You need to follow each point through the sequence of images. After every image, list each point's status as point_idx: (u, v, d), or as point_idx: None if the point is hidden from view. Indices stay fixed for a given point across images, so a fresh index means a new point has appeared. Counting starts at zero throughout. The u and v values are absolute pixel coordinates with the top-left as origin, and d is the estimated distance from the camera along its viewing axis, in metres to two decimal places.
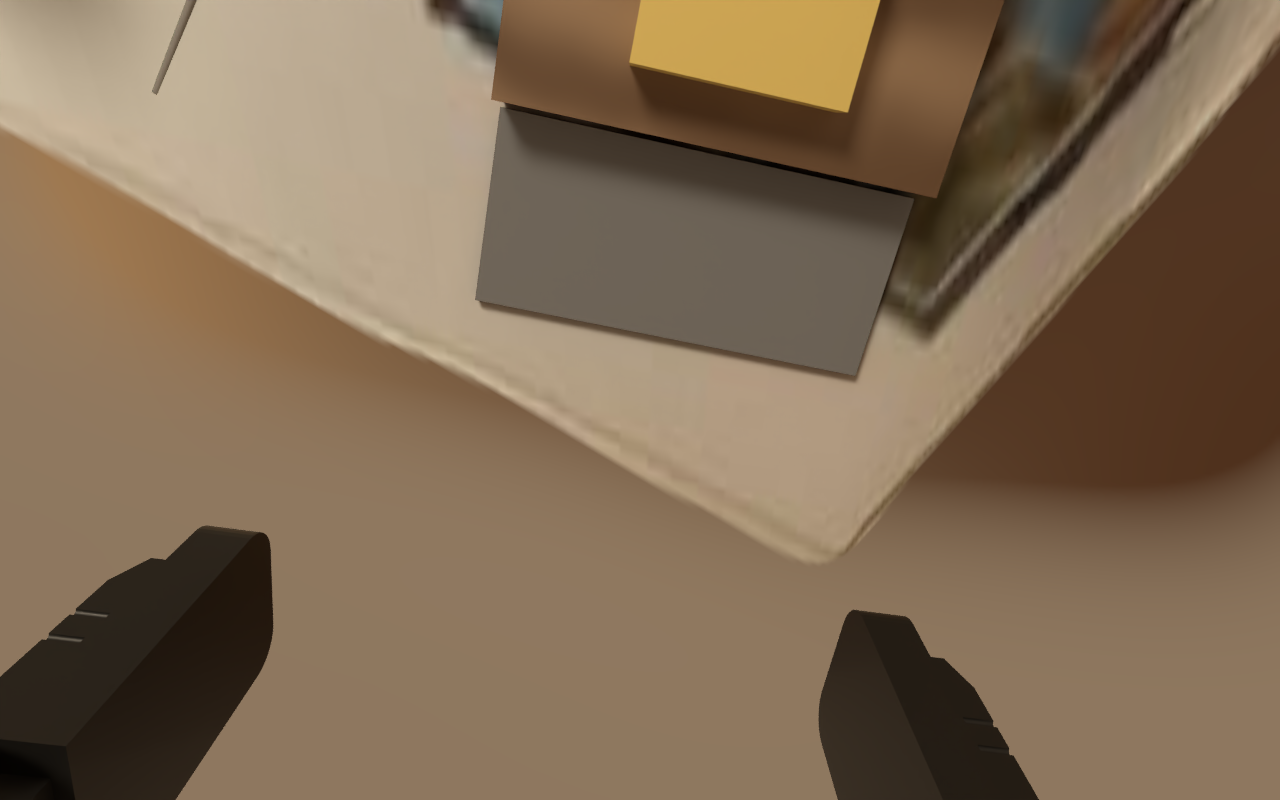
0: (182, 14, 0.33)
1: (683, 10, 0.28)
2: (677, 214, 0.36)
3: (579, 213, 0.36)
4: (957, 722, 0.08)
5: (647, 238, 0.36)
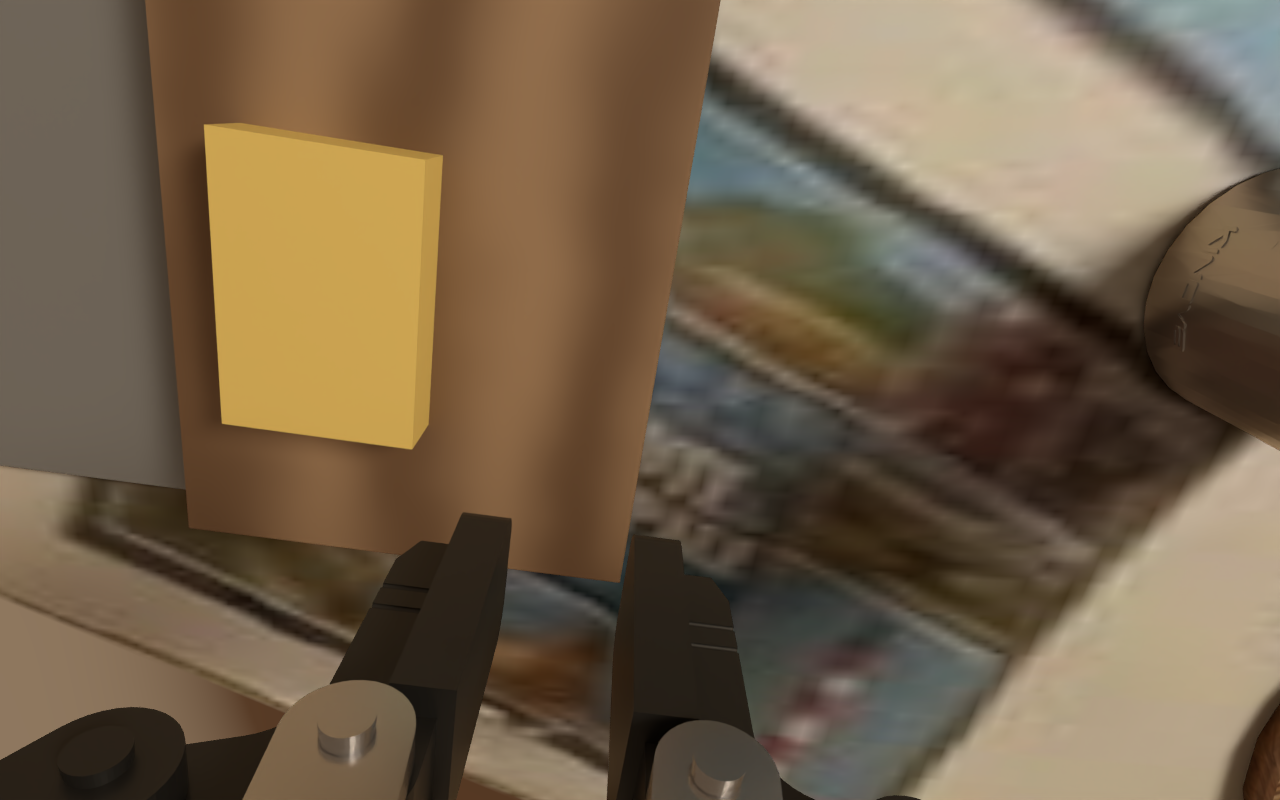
0: None
1: (287, 200, 0.21)
2: (107, 201, 0.25)
3: (61, 49, 0.23)
4: (681, 621, 0.09)
5: (59, 159, 0.25)
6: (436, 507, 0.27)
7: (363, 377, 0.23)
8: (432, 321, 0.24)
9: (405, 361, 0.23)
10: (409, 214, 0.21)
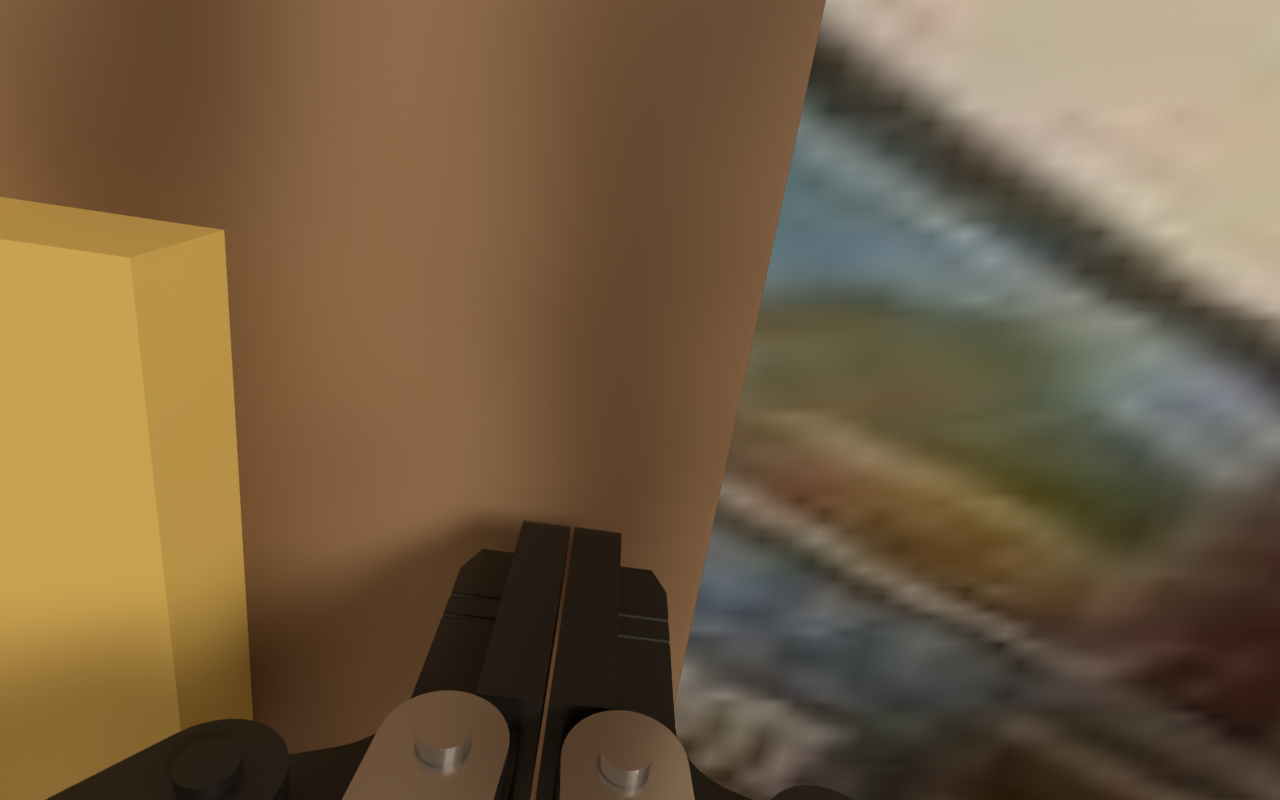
0: None
1: None
2: None
3: None
4: (610, 612, 0.09)
5: None
6: None
7: (66, 702, 0.11)
8: (236, 556, 0.12)
9: (151, 673, 0.10)
10: (111, 381, 0.09)
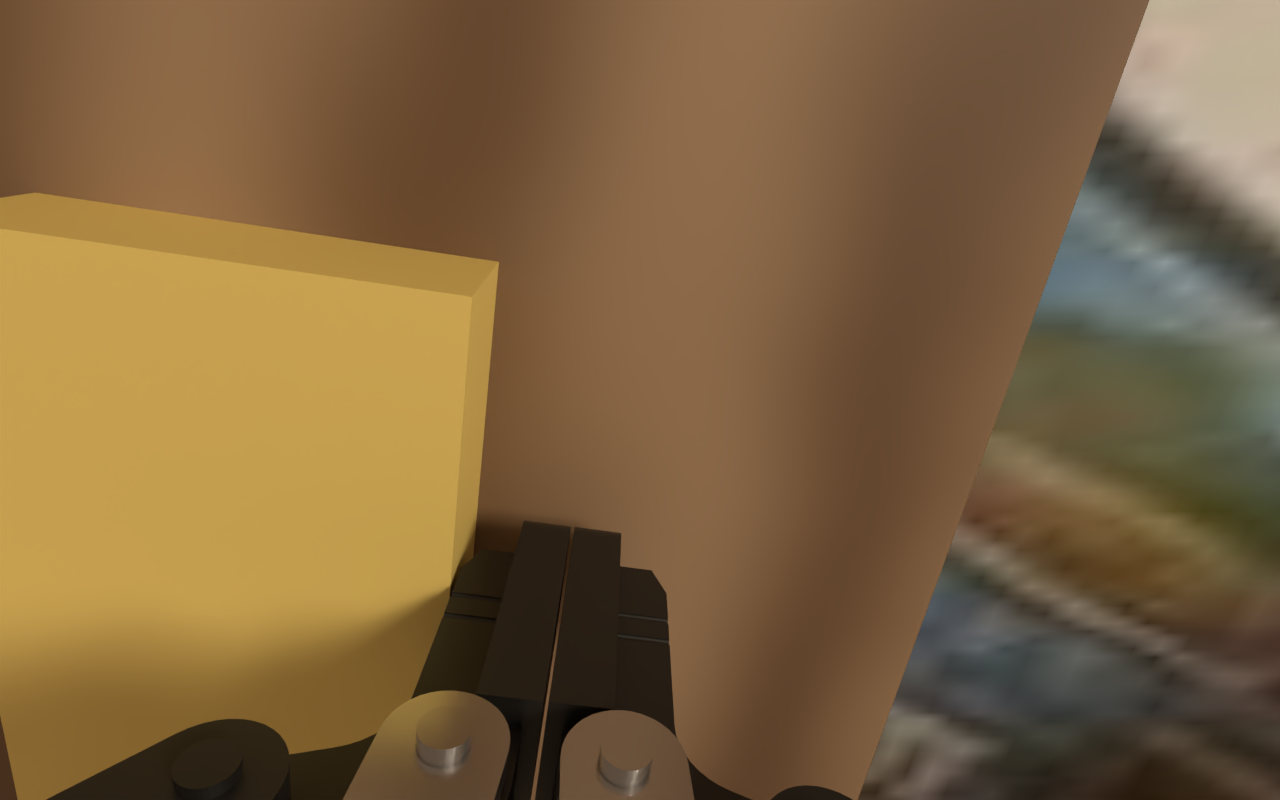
0: None
1: (132, 391, 0.09)
2: None
3: None
4: (610, 612, 0.09)
5: None
6: None
7: (325, 739, 0.11)
8: None
9: None
10: (430, 419, 0.09)
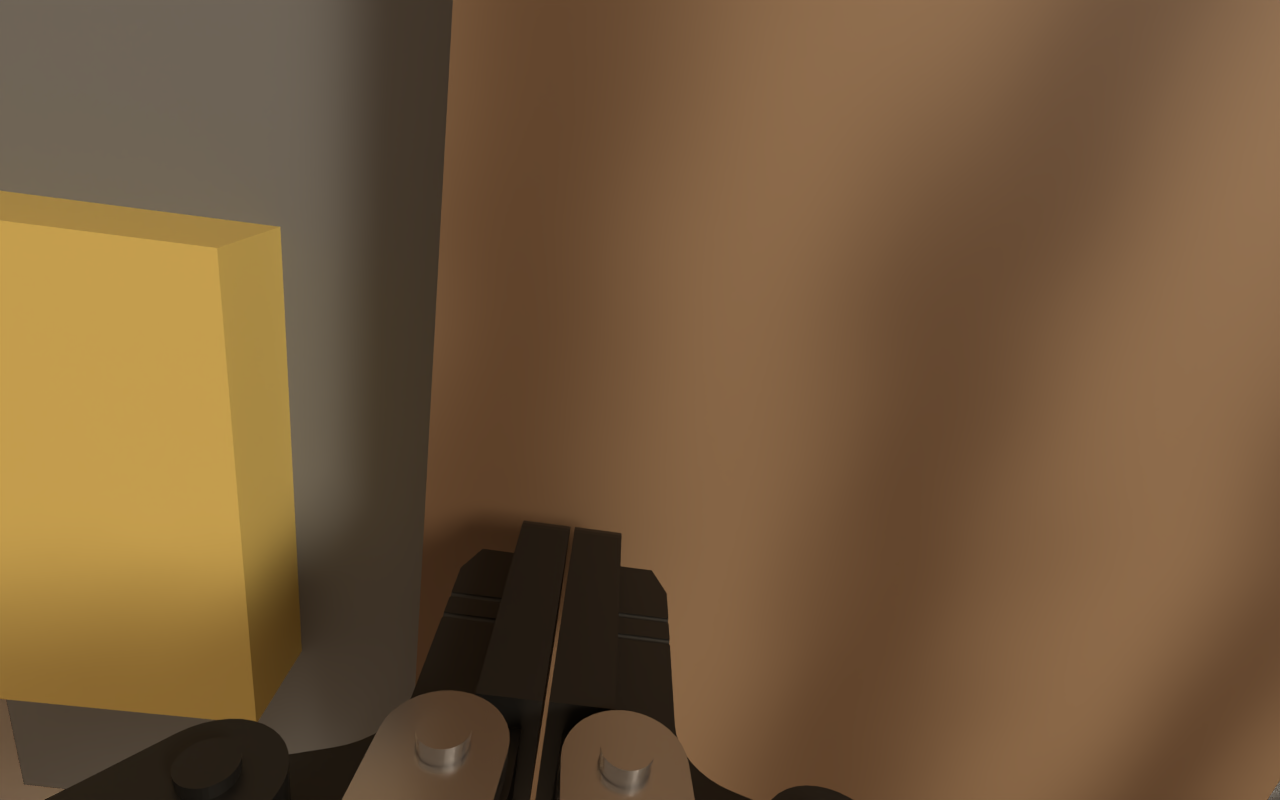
0: None
1: None
2: None
3: (215, 111, 0.12)
4: (610, 611, 0.09)
5: None
6: None
7: None
8: None
9: None
10: None
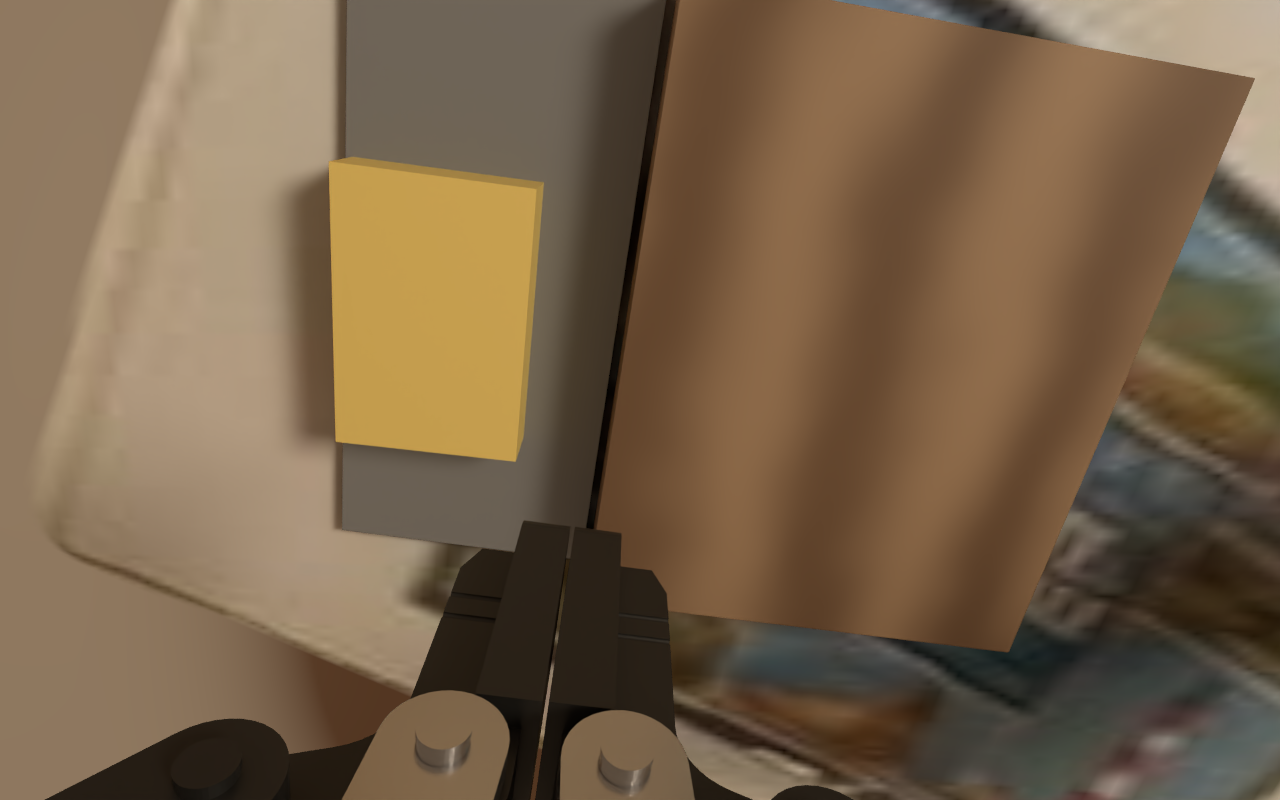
0: None
1: None
2: None
3: (518, 121, 0.23)
4: (611, 612, 0.09)
5: None
6: (841, 579, 0.26)
7: None
8: None
9: None
10: None
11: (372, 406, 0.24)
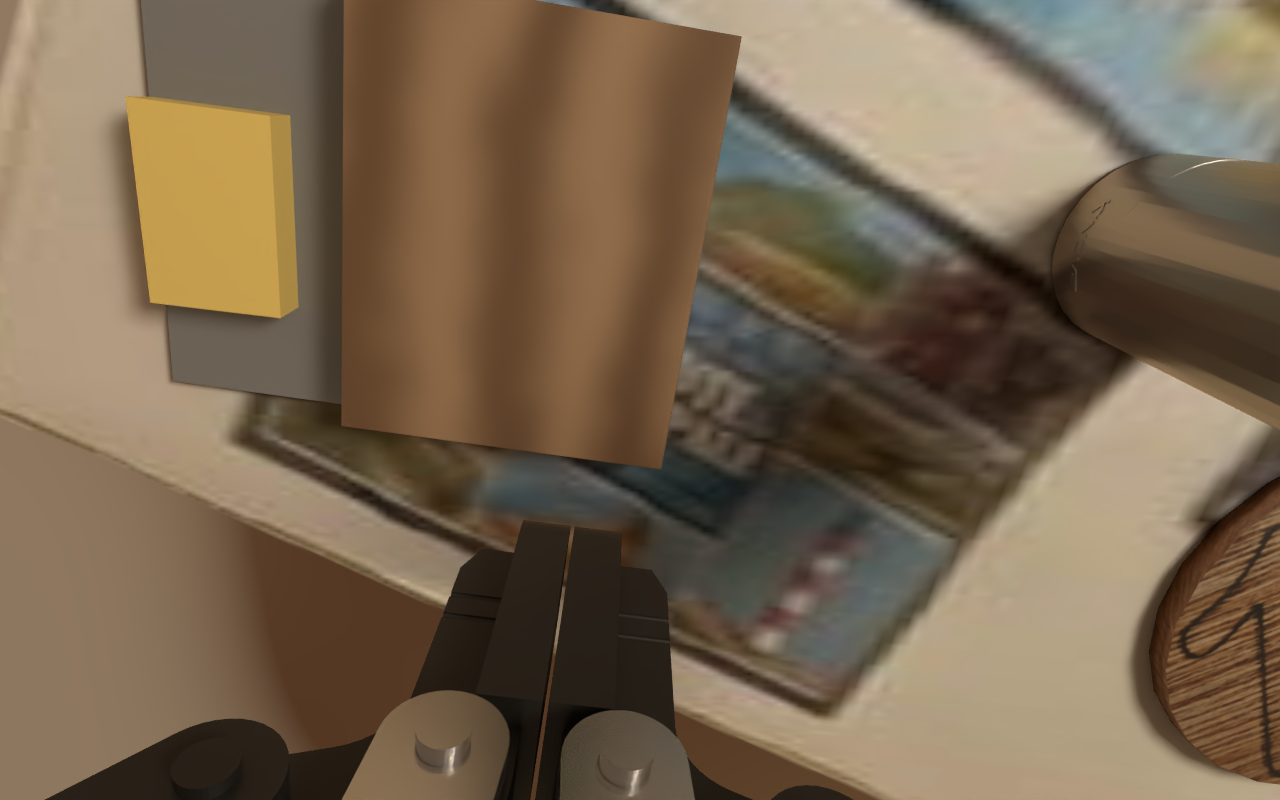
0: None
1: None
2: None
3: (266, 71, 0.33)
4: (610, 612, 0.09)
5: None
6: (526, 409, 0.36)
7: None
8: None
9: None
10: None
11: (173, 275, 0.34)
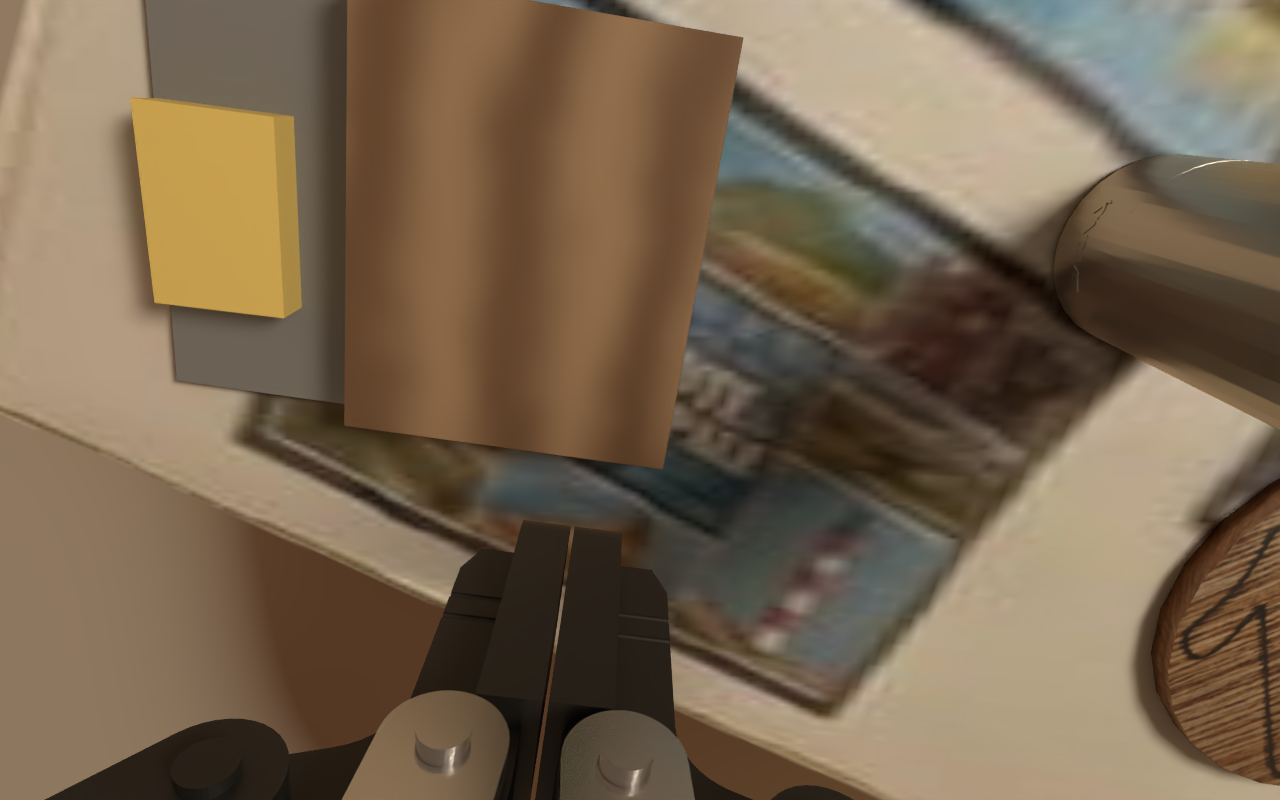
0: None
1: None
2: None
3: (270, 72, 0.33)
4: (610, 611, 0.09)
5: None
6: (528, 409, 0.36)
7: None
8: None
9: None
10: None
11: (178, 275, 0.34)
